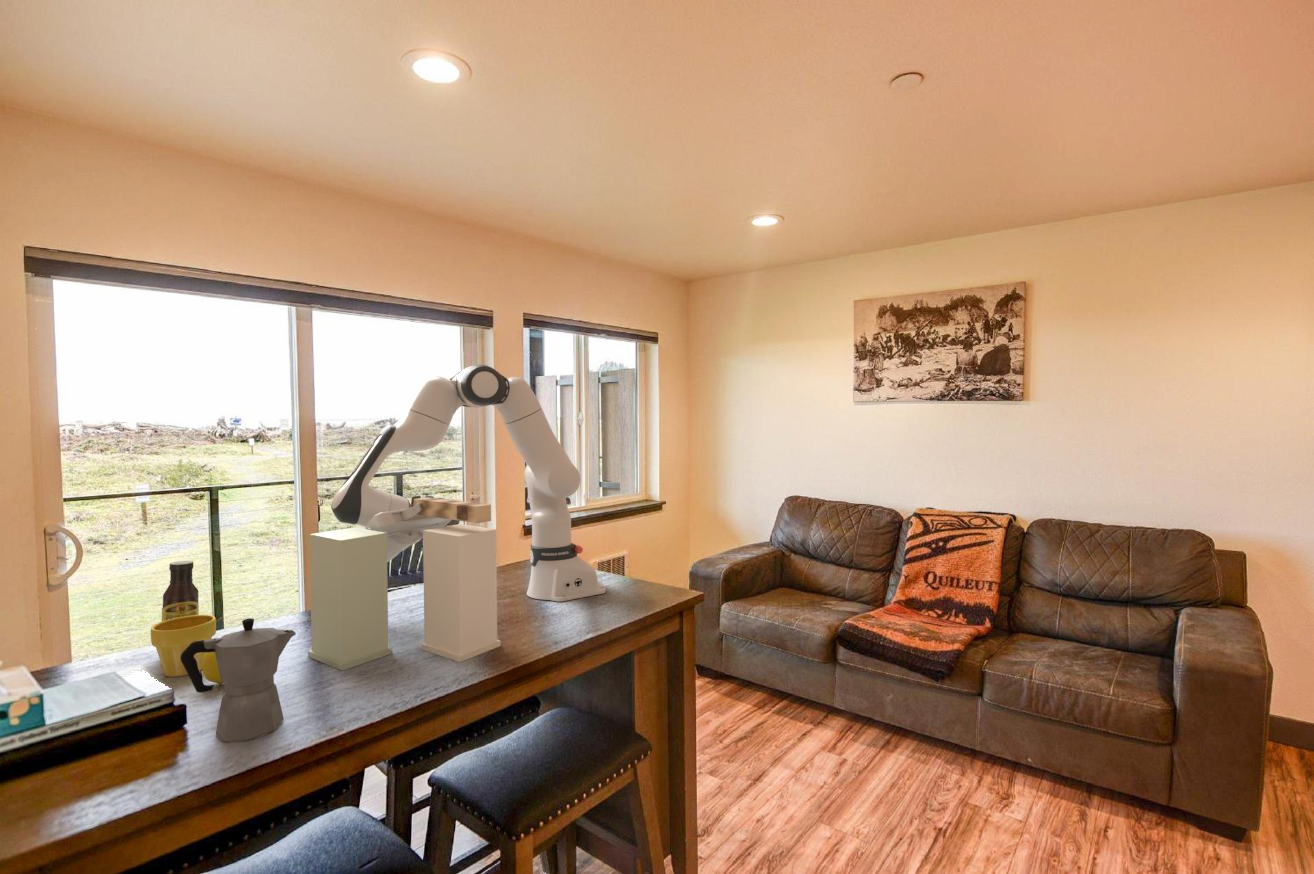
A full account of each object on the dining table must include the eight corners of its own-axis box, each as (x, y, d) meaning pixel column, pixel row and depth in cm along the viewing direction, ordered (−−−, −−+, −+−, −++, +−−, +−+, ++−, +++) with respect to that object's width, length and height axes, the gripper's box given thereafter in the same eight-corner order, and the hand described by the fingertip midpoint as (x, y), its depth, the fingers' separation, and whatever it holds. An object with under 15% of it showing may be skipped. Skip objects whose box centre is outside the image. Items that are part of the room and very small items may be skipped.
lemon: (195, 688, 116) (194, 645, 116) (226, 676, 121) (225, 636, 121) (215, 693, 114) (214, 650, 114) (245, 681, 119) (244, 640, 119)
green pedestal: (308, 656, 132) (306, 534, 131) (358, 641, 141) (356, 526, 140) (341, 670, 124) (339, 541, 123) (391, 653, 133) (390, 532, 133)
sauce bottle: (162, 663, 128) (159, 567, 127) (160, 655, 133) (157, 562, 132) (201, 655, 132) (199, 562, 132) (198, 647, 137) (196, 557, 136)
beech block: (413, 514, 142) (413, 499, 142) (427, 512, 145) (426, 497, 145) (477, 523, 130) (477, 506, 130) (491, 520, 133) (490, 504, 133)
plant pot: (161, 665, 127) (160, 617, 127) (222, 657, 131) (221, 611, 131) (144, 685, 118) (142, 633, 117) (210, 675, 122) (209, 626, 122)
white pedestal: (421, 649, 136) (419, 530, 135) (462, 634, 145) (461, 523, 144) (459, 662, 129) (458, 536, 128) (500, 645, 138) (499, 529, 137)
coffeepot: (296, 706, 109) (294, 604, 108) (298, 729, 101) (296, 619, 100) (186, 730, 101) (183, 620, 100) (179, 757, 93) (175, 637, 92)
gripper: (353, 524, 141) (384, 497, 134) (431, 512, 158) (462, 487, 151) (362, 550, 139) (393, 524, 132) (439, 534, 156) (471, 511, 149)
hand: (430, 504), depth 142 cm, fingers closed on beech block, 3 cm apart
